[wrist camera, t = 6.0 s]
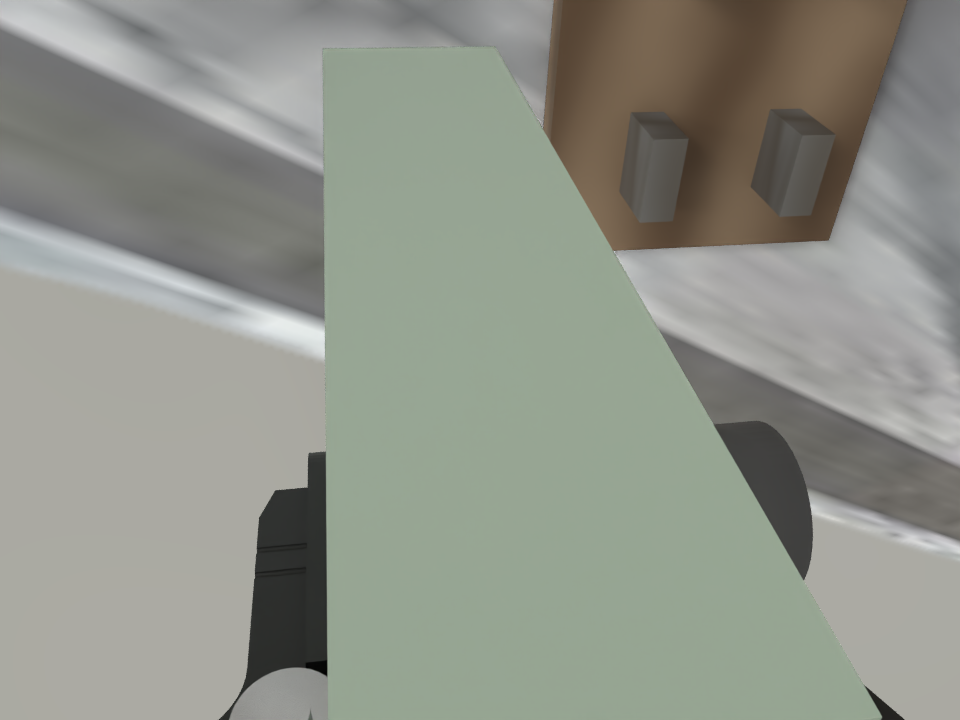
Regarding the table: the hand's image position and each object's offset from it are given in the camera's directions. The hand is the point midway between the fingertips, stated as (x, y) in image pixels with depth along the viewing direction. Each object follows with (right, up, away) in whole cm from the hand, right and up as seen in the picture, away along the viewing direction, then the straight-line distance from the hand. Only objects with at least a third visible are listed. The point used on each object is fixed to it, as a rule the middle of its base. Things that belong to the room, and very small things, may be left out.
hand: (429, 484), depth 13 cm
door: (0, +2, +2) cm, 3 cm away
